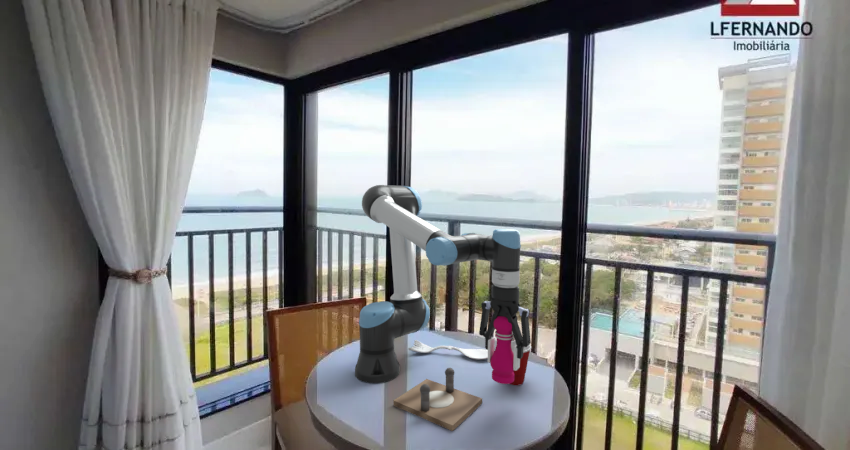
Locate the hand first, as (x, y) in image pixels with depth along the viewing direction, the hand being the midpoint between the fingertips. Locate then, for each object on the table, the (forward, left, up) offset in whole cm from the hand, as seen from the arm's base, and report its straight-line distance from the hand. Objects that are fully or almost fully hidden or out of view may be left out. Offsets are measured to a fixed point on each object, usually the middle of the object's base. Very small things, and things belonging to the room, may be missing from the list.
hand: (503, 364), depth 102 cm
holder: (-15, -10, -12) cm, 22 cm away
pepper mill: (0, 0, -4) cm, 4 cm away
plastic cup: (-3, +16, -12) cm, 21 cm away
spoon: (-31, +22, -13) cm, 40 cm away
